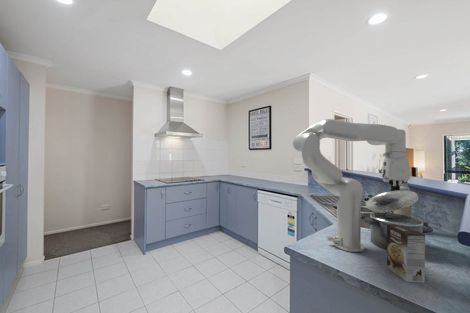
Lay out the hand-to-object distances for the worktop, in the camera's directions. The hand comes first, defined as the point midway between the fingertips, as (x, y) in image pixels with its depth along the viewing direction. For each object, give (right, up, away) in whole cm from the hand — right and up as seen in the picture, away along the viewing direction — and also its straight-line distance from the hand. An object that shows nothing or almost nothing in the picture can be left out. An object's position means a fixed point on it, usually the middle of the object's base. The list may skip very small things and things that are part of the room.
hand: (395, 194), depth 94 cm
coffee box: (-16, -24, -24) cm, 38 cm away
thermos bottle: (+22, -25, +22) cm, 40 cm away
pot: (0, -24, 0) cm, 24 cm away
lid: (0, -5, +3) cm, 6 cm away
